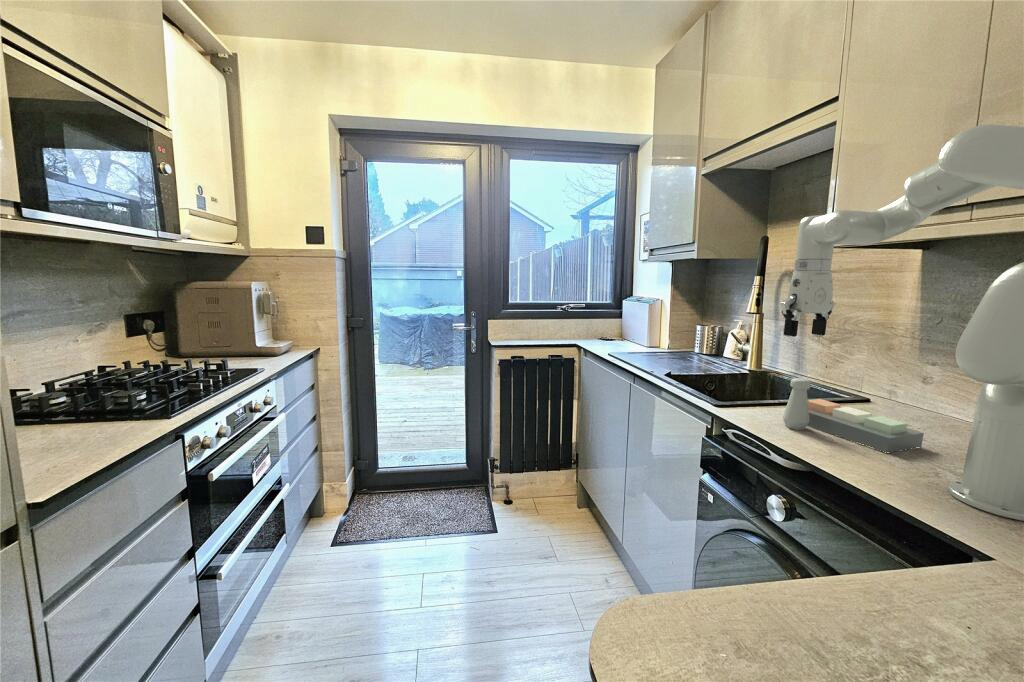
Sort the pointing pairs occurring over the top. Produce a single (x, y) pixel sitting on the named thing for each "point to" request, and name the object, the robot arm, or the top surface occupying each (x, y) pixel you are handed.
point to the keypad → (865, 433)
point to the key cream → (851, 414)
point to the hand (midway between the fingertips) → (804, 335)
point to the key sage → (885, 425)
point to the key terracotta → (822, 406)
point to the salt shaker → (797, 405)
